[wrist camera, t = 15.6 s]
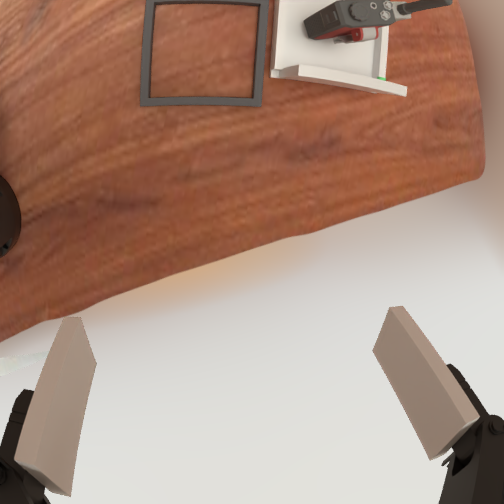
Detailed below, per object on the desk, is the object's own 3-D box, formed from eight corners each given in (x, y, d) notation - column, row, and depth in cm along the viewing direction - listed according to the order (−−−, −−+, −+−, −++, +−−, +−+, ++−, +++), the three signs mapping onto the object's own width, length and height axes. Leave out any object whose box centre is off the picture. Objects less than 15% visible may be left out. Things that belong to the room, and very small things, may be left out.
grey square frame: (142, 105, 36) (140, 106, 35) (148, -2, 29) (146, -4, 28) (259, 106, 38) (261, 106, 37) (266, 0, 31) (269, -3, 30)
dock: (269, 77, 37) (288, 74, 28) (276, -23, 30) (296, -50, 21) (372, 93, 39) (412, 98, 30) (379, 0, 32) (418, -13, 23)
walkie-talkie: (357, 15, 32) (454, -13, 15) (365, 43, 34) (467, 32, 17) (297, 21, 32) (371, -21, 15) (306, 52, 35) (387, 32, 17)
